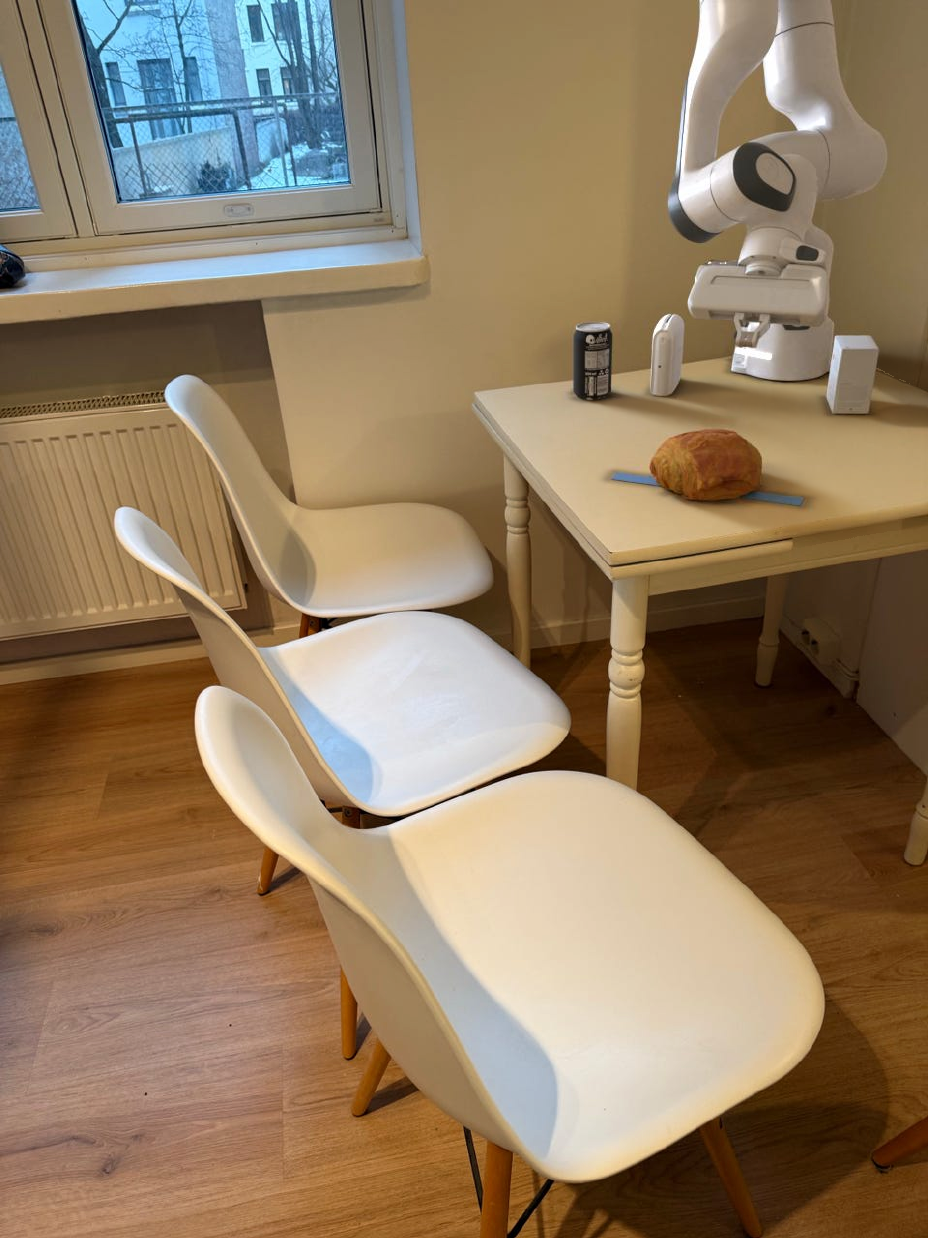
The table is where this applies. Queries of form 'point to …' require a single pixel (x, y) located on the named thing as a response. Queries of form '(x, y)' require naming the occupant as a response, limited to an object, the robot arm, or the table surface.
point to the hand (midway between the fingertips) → (745, 345)
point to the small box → (852, 374)
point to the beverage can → (592, 360)
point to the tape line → (750, 495)
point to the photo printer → (667, 355)
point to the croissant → (708, 465)
